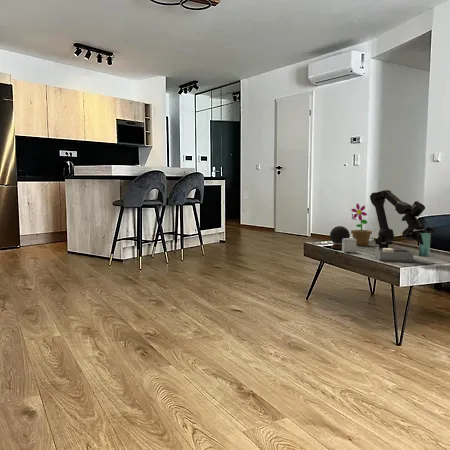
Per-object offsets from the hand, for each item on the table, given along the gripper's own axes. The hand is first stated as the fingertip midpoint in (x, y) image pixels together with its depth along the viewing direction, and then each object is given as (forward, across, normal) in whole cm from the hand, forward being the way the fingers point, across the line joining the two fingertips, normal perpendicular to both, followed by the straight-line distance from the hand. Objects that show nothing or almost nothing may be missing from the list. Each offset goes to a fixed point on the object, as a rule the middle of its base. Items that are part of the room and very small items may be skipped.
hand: (426, 244), depth 225 cm
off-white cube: (-6, +10, -20) cm, 23 cm away
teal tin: (+4, 0, -6) cm, 7 cm away
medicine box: (-26, +16, -42) cm, 52 cm away
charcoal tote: (-4, +7, -19) cm, 21 cm away
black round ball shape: (-39, +11, -55) cm, 68 cm away
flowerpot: (-46, -14, -62) cm, 79 cm away
